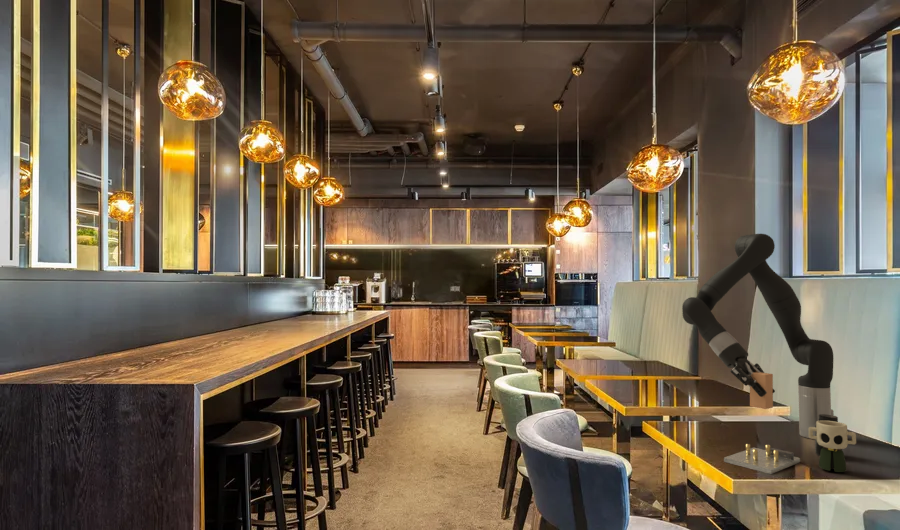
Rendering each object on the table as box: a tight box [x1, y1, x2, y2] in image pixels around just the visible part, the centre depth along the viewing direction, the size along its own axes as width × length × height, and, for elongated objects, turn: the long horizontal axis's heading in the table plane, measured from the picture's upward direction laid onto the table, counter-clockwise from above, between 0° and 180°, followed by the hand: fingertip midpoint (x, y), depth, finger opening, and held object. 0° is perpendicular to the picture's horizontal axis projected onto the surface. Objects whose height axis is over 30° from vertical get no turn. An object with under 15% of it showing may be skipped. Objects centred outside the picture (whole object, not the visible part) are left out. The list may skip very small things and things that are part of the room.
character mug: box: [808, 421, 857, 473], centre depth 153 cm, size 11×7×13 cm, turn 54°
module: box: [749, 372, 774, 410], centre depth 164 cm, size 4×4×10 cm
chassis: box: [723, 443, 801, 475], centre depth 160 cm, size 18×13×4 cm
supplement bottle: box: [814, 414, 843, 457], centre depth 166 cm, size 7×7×12 cm
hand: (768, 394), depth 163 cm, fingers closed on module, 4 cm apart
